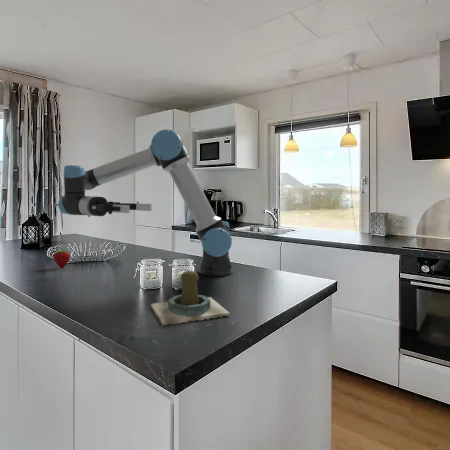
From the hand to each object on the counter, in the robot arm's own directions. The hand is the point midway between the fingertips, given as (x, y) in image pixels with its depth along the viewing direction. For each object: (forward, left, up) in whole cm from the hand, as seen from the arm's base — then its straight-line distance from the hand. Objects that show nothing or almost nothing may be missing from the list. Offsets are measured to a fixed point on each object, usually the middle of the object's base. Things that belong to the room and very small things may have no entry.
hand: (140, 208), depth 126 cm
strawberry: (+28, -45, -30) cm, 61 cm away
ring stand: (-10, +29, -30) cm, 43 cm away
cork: (-10, +28, -29) cm, 42 cm away
